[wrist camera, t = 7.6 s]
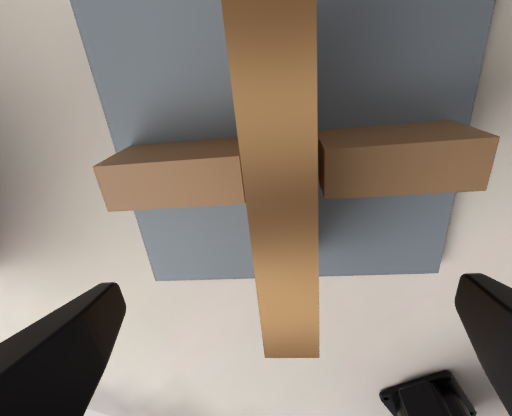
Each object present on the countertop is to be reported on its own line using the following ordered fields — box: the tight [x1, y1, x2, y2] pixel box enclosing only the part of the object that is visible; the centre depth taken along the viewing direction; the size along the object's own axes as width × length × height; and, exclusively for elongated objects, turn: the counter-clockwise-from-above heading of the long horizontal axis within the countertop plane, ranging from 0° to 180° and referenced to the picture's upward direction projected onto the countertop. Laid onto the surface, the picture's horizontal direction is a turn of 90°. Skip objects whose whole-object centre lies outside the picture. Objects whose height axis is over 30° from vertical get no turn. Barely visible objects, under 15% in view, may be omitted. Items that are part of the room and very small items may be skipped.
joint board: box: [70, 0, 500, 281], centre depth 16 cm, size 20×18×5 cm
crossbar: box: [221, 0, 319, 358], centre depth 14 cm, size 14×2×8 cm, turn 6°
